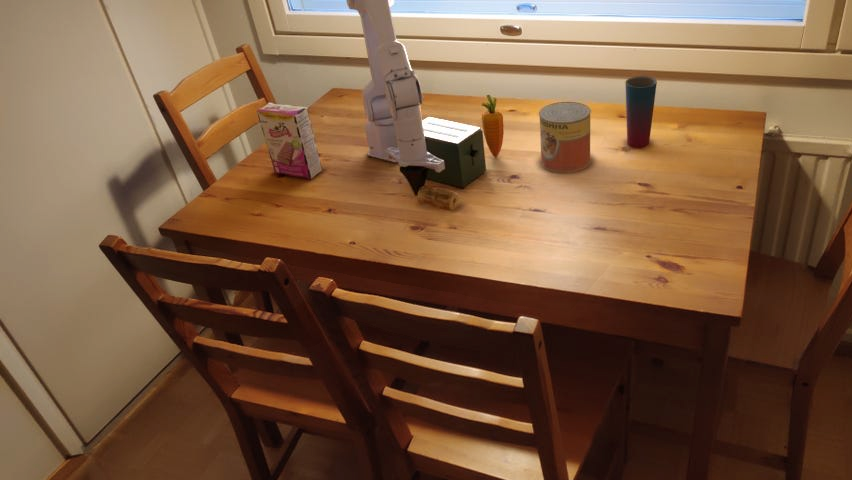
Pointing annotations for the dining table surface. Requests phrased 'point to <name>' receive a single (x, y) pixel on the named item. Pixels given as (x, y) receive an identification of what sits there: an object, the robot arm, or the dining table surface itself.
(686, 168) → the dining table surface
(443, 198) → the tan cylinder with hole
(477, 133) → the toaster
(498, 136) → the carrot
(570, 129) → the canned food
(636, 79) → the cup
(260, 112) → the candy bar box
